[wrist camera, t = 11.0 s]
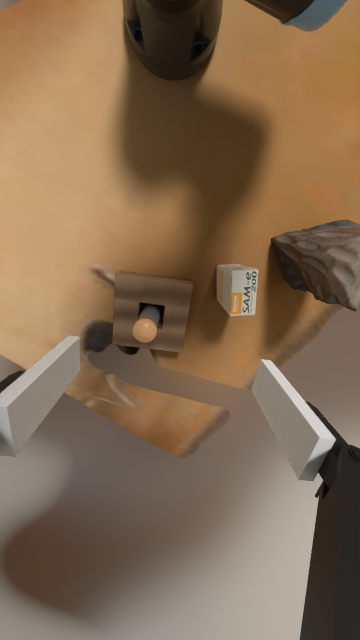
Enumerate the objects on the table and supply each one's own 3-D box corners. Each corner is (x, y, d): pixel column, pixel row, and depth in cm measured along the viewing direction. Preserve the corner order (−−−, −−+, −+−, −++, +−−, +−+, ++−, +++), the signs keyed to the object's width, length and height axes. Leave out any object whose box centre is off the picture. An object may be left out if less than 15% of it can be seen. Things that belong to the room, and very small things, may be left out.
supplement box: (236, 298, 49) (256, 316, 37) (215, 299, 49) (229, 317, 37) (237, 262, 46) (260, 268, 34) (216, 263, 46) (230, 270, 34)
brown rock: (329, 220, 44) (445, 202, 25) (328, 279, 48) (427, 301, 29) (270, 235, 45) (339, 228, 26) (274, 291, 49) (336, 320, 30)
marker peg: (144, 299, 49) (133, 319, 36) (162, 301, 49) (157, 322, 36) (143, 316, 50) (131, 340, 37) (160, 318, 51) (155, 343, 37)
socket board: (121, 270, 47) (115, 273, 42) (191, 280, 48) (193, 284, 43) (118, 335, 52) (112, 344, 47) (181, 343, 53) (181, 352, 48)
